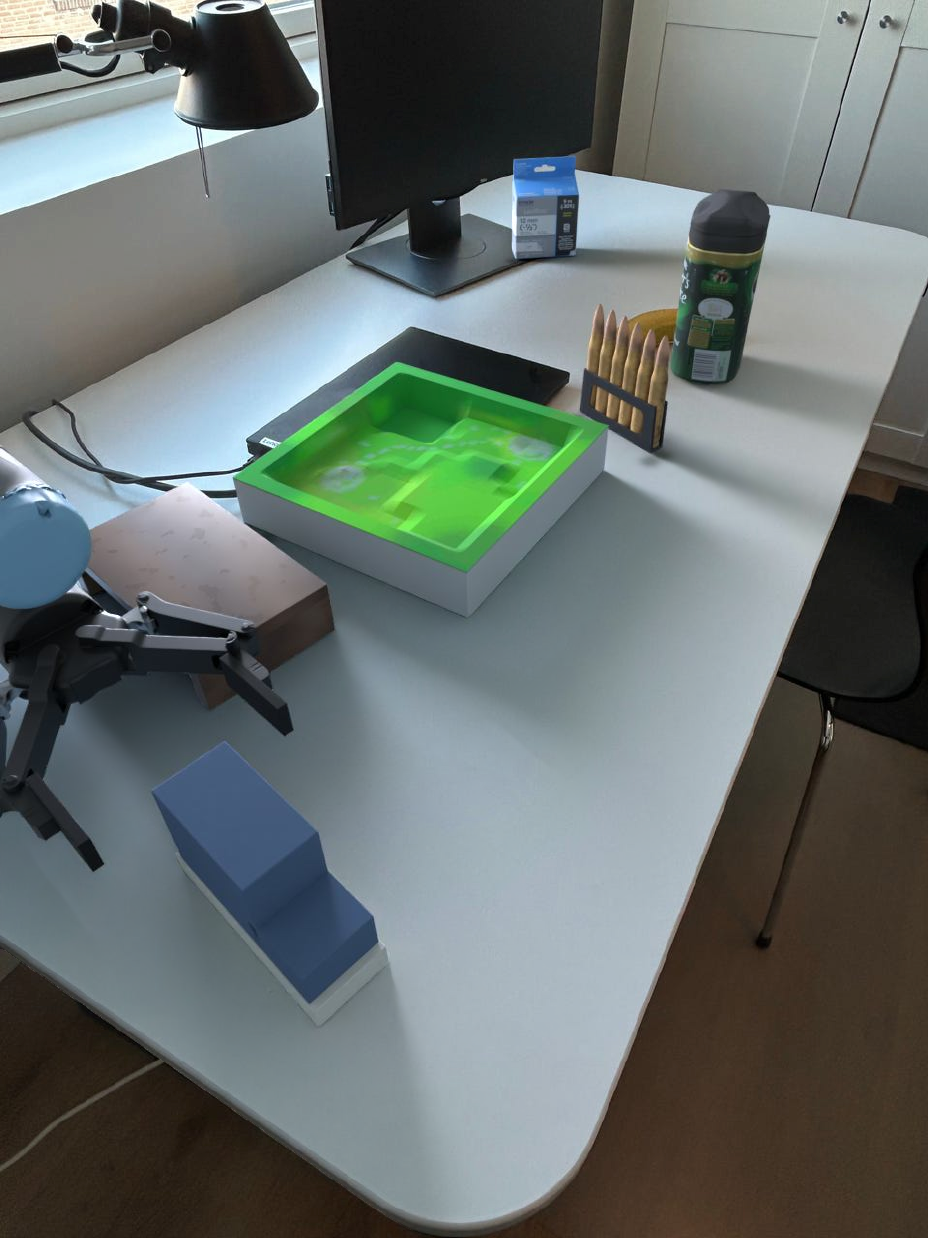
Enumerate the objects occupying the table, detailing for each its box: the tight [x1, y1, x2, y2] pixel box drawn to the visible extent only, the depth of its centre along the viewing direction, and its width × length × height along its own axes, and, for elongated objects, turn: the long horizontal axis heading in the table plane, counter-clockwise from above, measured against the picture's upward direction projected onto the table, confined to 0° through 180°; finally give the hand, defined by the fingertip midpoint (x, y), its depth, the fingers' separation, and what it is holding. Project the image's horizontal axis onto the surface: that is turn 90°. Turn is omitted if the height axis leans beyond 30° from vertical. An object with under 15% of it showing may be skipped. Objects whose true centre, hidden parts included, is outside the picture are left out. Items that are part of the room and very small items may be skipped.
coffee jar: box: [670, 188, 771, 386], centre depth 95 cm, size 10×8×19 cm
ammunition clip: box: [579, 303, 670, 454], centre depth 88 cm, size 11×2×12 cm, turn 37°
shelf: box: [77, 481, 336, 712], centre depth 72 cm, size 12×20×5 cm, turn 45°
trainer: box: [150, 741, 390, 1028], centre depth 50 cm, size 5×14×9 cm, turn 45°
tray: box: [232, 361, 609, 619], centre depth 83 cm, size 25×25×5 cm
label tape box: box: [511, 155, 580, 260], centre depth 123 cm, size 9×4×12 cm, turn 95°
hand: (195, 784), depth 53 cm, fingers open, 13 cm apart
